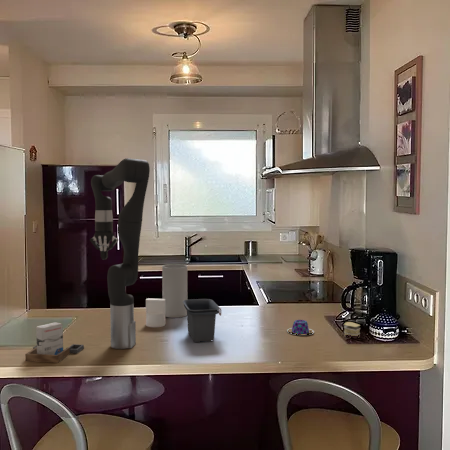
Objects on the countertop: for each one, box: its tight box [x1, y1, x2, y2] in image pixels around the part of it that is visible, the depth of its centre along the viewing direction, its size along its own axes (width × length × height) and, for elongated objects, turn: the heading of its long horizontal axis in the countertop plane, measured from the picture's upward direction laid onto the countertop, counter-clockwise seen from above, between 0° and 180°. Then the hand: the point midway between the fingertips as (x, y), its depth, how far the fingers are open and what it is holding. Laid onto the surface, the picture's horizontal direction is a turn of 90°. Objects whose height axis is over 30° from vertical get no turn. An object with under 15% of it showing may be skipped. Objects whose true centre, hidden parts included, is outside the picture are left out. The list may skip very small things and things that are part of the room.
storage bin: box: [183, 298, 222, 343], centre depth 207 cm, size 21×16×14 cm
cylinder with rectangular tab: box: [145, 297, 166, 328], centre depth 225 cm, size 9×9×12 cm
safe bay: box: [24, 346, 71, 363], centre depth 181 cm, size 13×9×2 cm
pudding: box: [286, 319, 315, 336], centre depth 215 cm, size 12×12×5 cm
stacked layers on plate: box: [343, 321, 361, 336], centre depth 209 cm, size 10×9×6 cm
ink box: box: [35, 321, 64, 355], centre depth 183 cm, size 8×5×12 cm, turn 139°
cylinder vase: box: [161, 263, 188, 319], centre depth 242 cm, size 12×12×25 cm
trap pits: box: [32, 343, 85, 354], centre depth 189 cm, size 18×6×2 cm, turn 83°
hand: (104, 259), depth 214 cm, fingers closed
